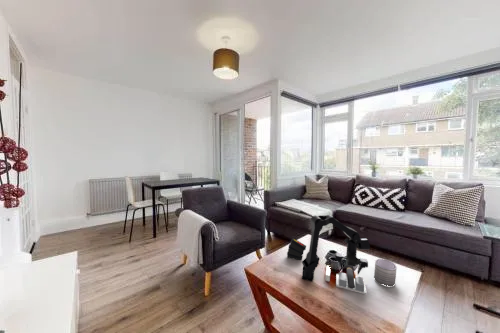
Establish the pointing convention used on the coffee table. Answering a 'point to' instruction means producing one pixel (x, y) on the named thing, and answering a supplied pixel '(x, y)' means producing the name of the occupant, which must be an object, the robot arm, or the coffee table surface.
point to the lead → (350, 278)
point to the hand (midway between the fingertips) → (349, 272)
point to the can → (385, 272)
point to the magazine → (296, 250)
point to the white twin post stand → (343, 283)
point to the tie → (327, 273)
